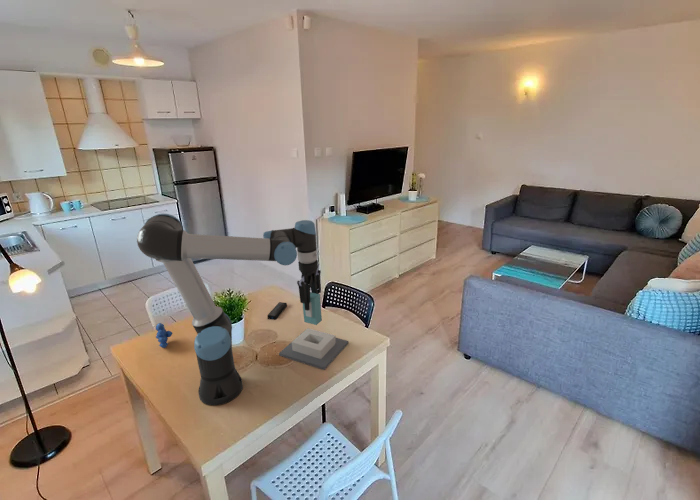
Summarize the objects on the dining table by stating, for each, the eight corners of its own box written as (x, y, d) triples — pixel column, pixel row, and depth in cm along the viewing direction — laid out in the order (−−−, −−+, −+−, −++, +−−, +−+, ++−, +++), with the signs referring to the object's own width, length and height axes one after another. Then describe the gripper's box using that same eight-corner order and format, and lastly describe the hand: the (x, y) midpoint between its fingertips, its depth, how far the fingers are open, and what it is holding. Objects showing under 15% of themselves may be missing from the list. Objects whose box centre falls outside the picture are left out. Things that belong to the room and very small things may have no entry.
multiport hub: (287, 306, 194) (286, 302, 193) (275, 320, 181) (275, 316, 180) (279, 305, 195) (279, 302, 194) (267, 319, 182) (267, 315, 181)
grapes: (176, 351, 158) (171, 326, 154) (159, 356, 155) (153, 331, 151) (174, 338, 168) (169, 315, 164) (157, 342, 165) (152, 319, 161)
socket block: (324, 370, 143) (323, 358, 142) (279, 355, 153) (277, 344, 151) (348, 343, 160) (348, 332, 158) (306, 331, 170) (305, 321, 168)
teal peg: (316, 325, 149) (314, 298, 145) (304, 321, 152) (301, 295, 148) (321, 320, 152) (319, 294, 148) (309, 317, 155) (307, 291, 151)
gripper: (303, 269, 134) (308, 325, 142) (327, 254, 148) (330, 306, 156) (286, 266, 138) (292, 321, 145) (311, 251, 152) (315, 302, 160)
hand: (312, 313), depth 151 cm, fingers closed on teal peg, 4 cm apart
